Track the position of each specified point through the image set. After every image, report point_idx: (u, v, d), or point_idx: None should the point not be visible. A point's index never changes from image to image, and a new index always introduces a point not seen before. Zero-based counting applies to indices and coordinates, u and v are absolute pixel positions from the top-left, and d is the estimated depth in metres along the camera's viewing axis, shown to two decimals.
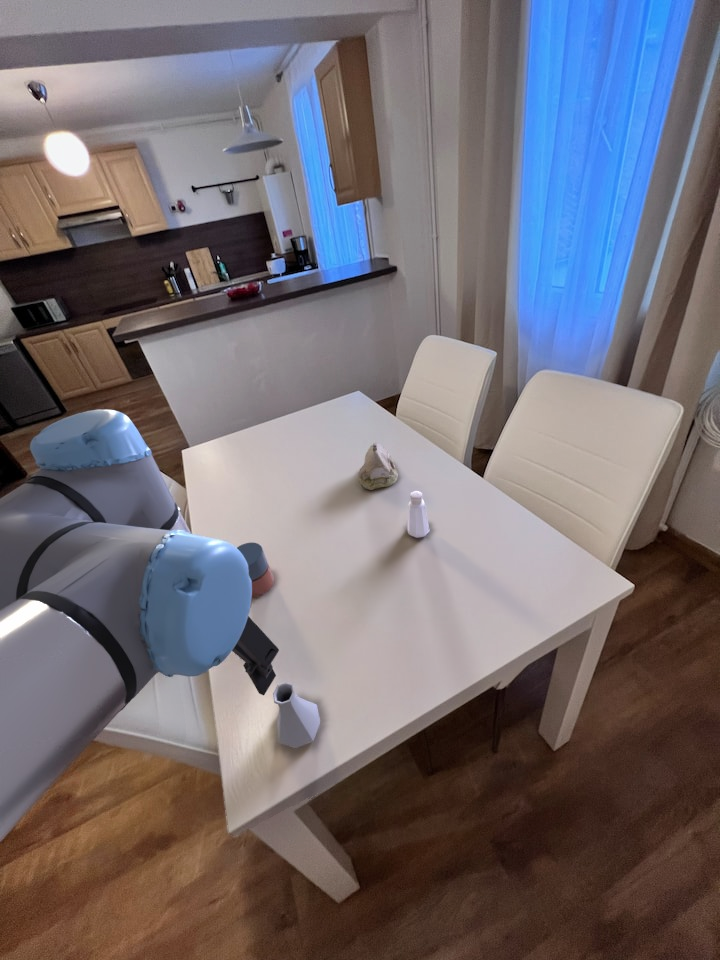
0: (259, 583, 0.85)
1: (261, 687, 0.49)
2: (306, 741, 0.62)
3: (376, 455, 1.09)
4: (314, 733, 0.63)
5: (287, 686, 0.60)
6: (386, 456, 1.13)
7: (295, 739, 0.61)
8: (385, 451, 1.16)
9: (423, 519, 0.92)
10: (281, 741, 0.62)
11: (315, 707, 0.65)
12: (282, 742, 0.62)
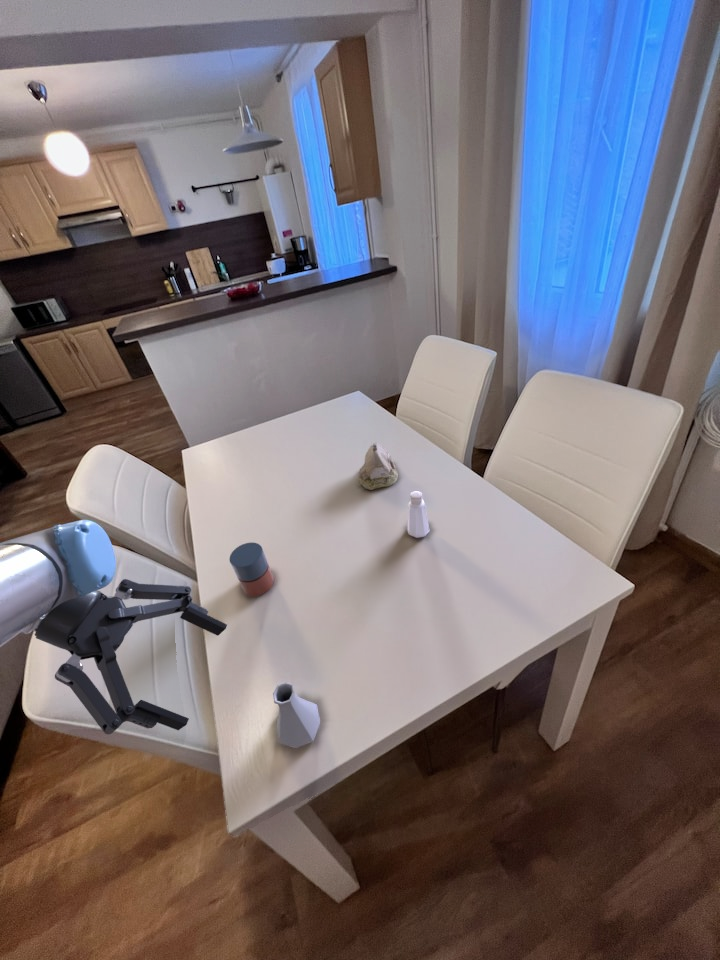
0: (259, 583, 0.85)
1: (167, 725, 0.52)
2: (306, 741, 0.62)
3: (376, 455, 1.09)
4: (314, 733, 0.63)
5: (287, 686, 0.60)
6: (386, 456, 1.13)
7: (295, 739, 0.61)
8: (385, 451, 1.16)
9: (423, 519, 0.92)
10: (281, 741, 0.62)
11: (315, 707, 0.65)
12: (282, 742, 0.62)
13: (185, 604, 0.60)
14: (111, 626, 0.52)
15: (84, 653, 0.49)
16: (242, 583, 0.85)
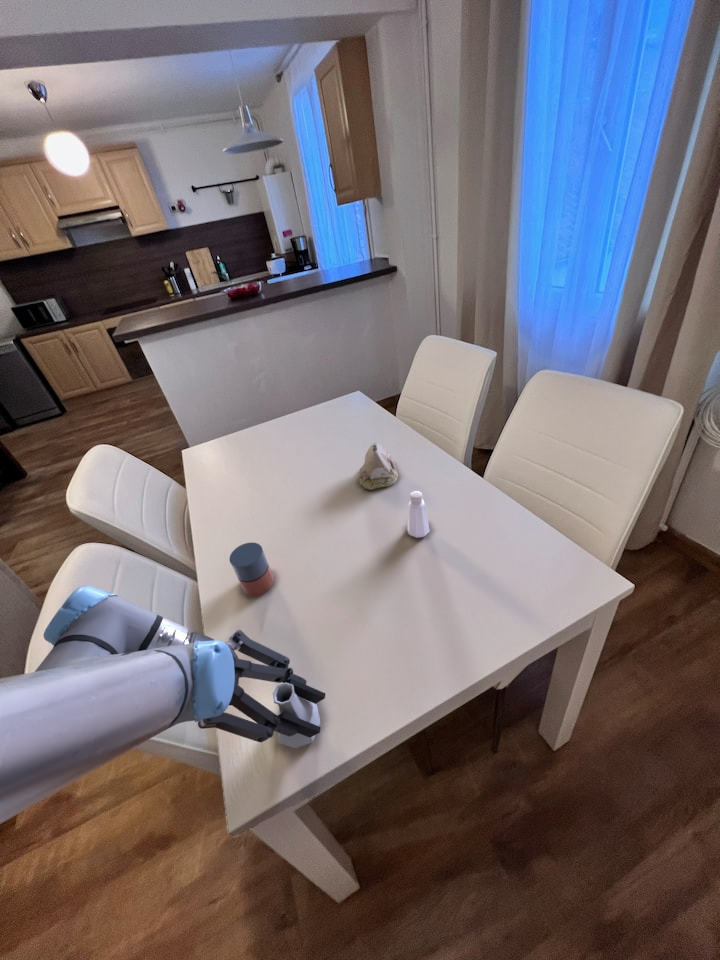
0: (259, 583, 0.85)
1: (302, 733, 0.60)
2: (306, 741, 0.62)
3: (376, 455, 1.09)
4: None
5: (287, 686, 0.60)
6: (386, 456, 1.13)
7: (295, 739, 0.61)
8: (385, 451, 1.16)
9: (423, 519, 0.92)
10: (281, 741, 0.62)
11: (315, 707, 0.65)
12: (282, 742, 0.62)
13: (286, 676, 0.62)
14: None
15: None
16: (242, 583, 0.85)
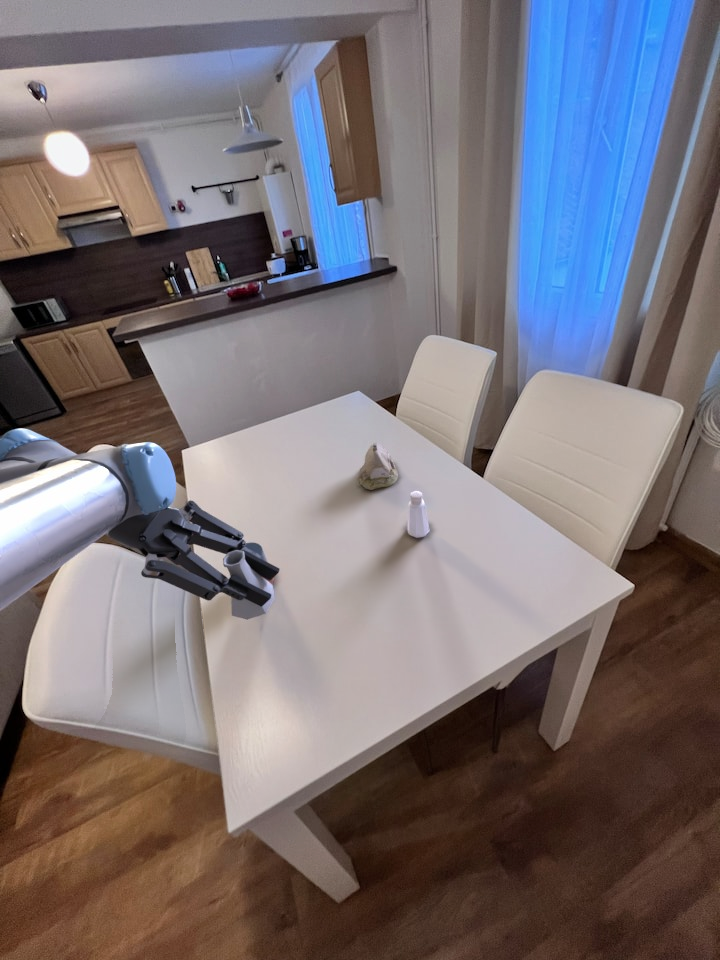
0: None
1: (253, 601, 0.60)
2: (258, 612, 0.61)
3: (376, 455, 1.09)
4: (267, 606, 0.62)
5: (238, 553, 0.59)
6: (386, 456, 1.13)
7: (247, 609, 0.61)
8: (385, 451, 1.16)
9: (423, 519, 0.92)
10: (234, 613, 0.62)
11: (270, 585, 0.65)
12: (235, 614, 0.62)
13: (238, 547, 0.61)
14: (174, 531, 0.56)
15: (157, 550, 0.53)
16: None
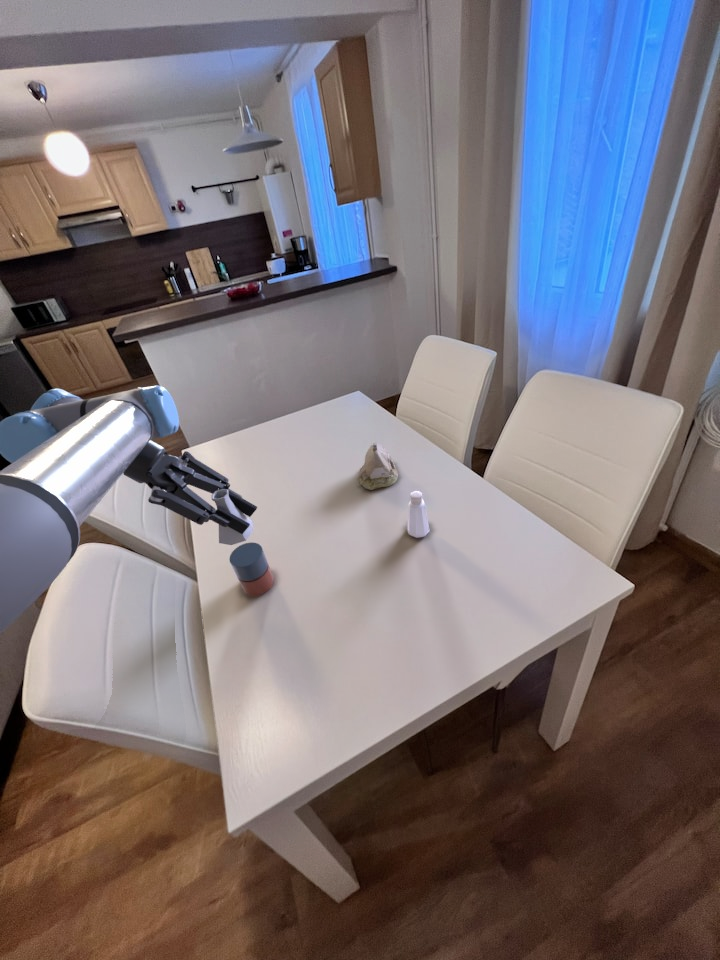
0: (259, 583, 0.85)
1: (235, 529, 0.76)
2: (240, 539, 0.77)
3: (376, 455, 1.09)
4: (247, 536, 0.78)
5: (223, 491, 0.76)
6: (386, 456, 1.13)
7: (230, 536, 0.77)
8: (385, 451, 1.16)
9: (423, 519, 0.92)
10: (220, 541, 0.78)
11: (250, 521, 0.81)
12: (221, 542, 0.78)
13: (224, 488, 0.77)
14: (173, 472, 0.73)
15: (160, 483, 0.69)
16: (242, 583, 0.85)
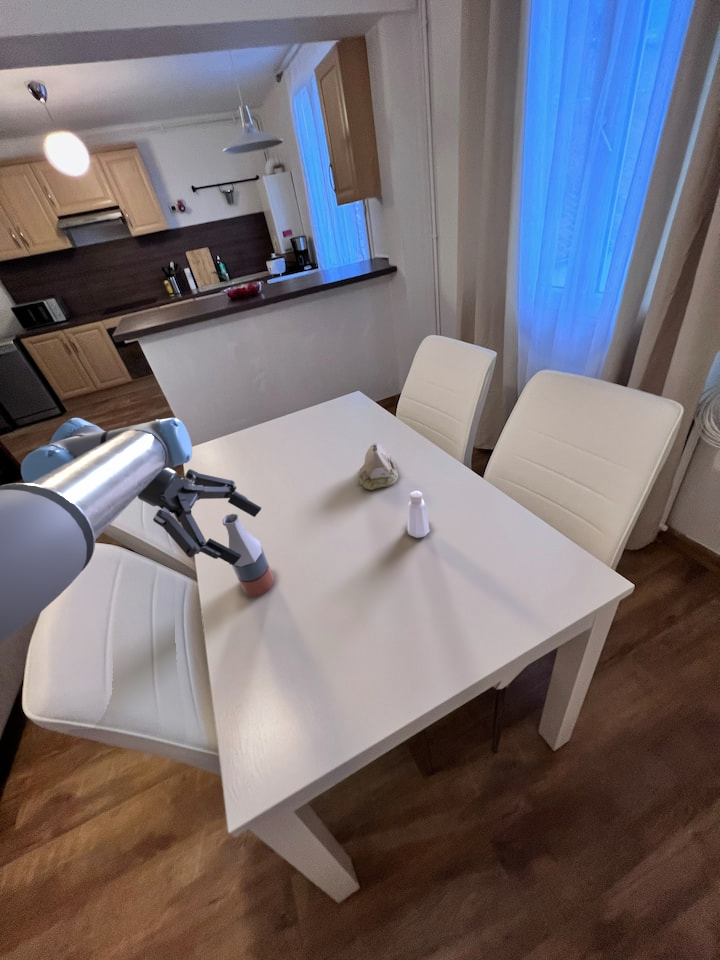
0: (259, 583, 0.85)
1: (226, 560, 0.75)
2: (249, 561, 0.81)
3: (376, 455, 1.09)
4: (256, 557, 0.82)
5: (234, 516, 0.80)
6: (386, 456, 1.13)
7: (240, 558, 0.81)
8: (385, 451, 1.16)
9: (423, 519, 0.92)
10: None
11: (258, 543, 0.85)
12: None
13: (231, 491, 0.84)
14: (185, 495, 0.76)
15: (171, 507, 0.73)
16: (242, 583, 0.85)
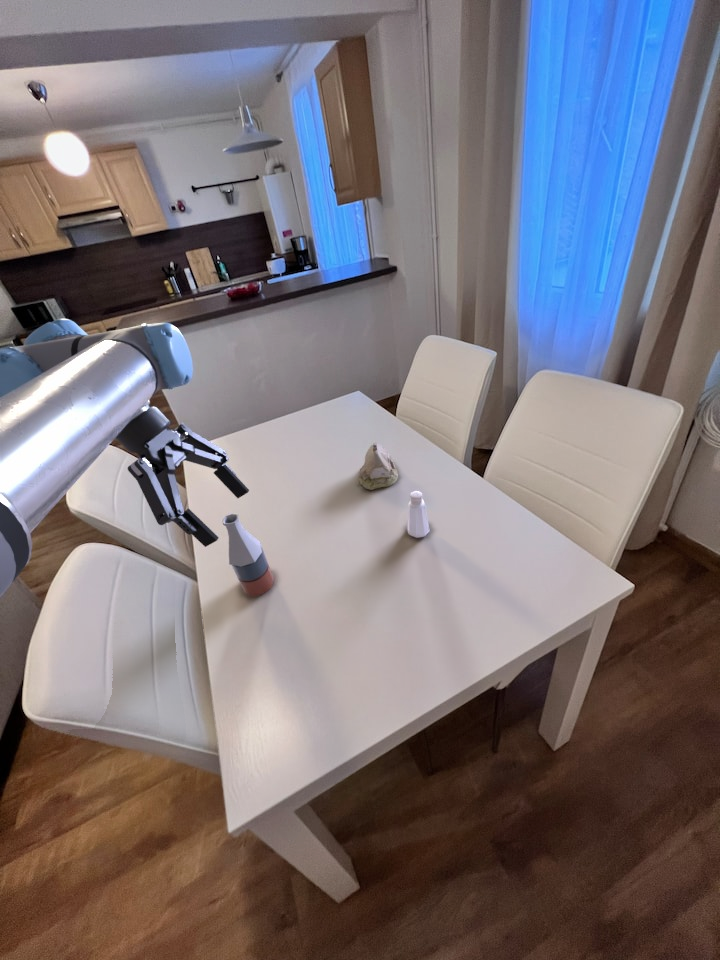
0: (259, 583, 0.85)
1: (199, 539, 0.63)
2: (249, 561, 0.81)
3: (376, 455, 1.09)
4: (256, 557, 0.82)
5: (234, 516, 0.80)
6: (386, 456, 1.13)
7: (240, 558, 0.81)
8: (385, 451, 1.16)
9: (423, 519, 0.92)
10: (230, 562, 0.82)
11: (258, 543, 0.85)
12: (231, 563, 0.82)
13: (222, 462, 0.72)
14: (172, 450, 0.64)
15: (153, 459, 0.60)
16: (242, 583, 0.85)
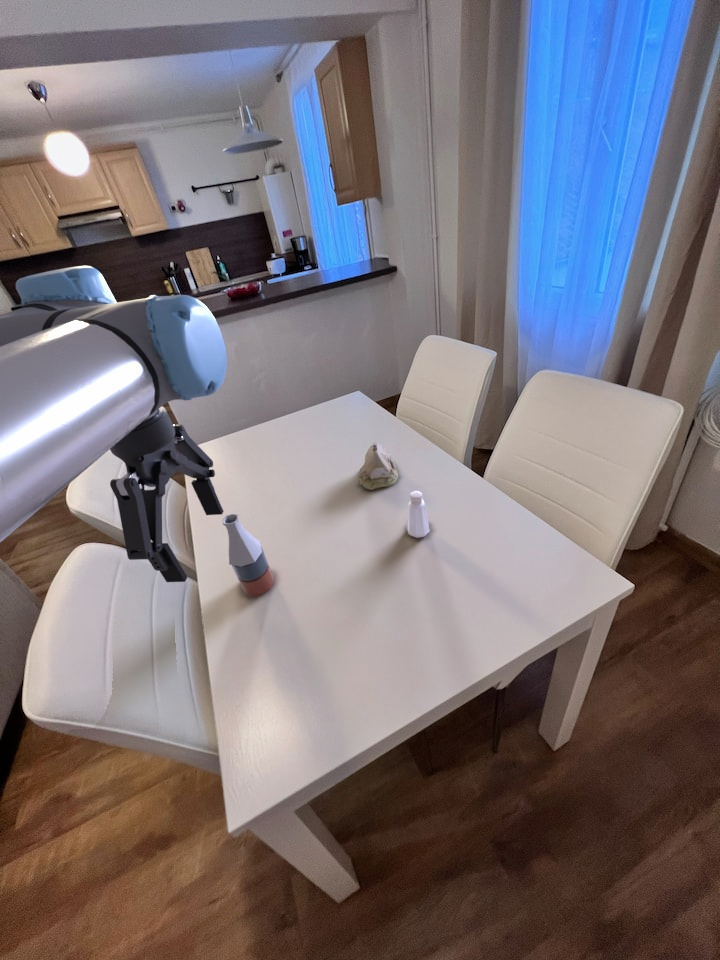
0: (259, 583, 0.85)
1: (163, 574, 0.53)
2: (249, 561, 0.81)
3: (376, 455, 1.09)
4: (256, 557, 0.82)
5: (234, 516, 0.80)
6: (386, 456, 1.13)
7: (240, 558, 0.81)
8: (385, 451, 1.16)
9: (423, 519, 0.92)
10: (230, 562, 0.82)
11: (258, 543, 0.85)
12: (231, 563, 0.82)
13: (207, 476, 0.61)
14: None
15: (144, 476, 0.48)
16: (242, 583, 0.85)
